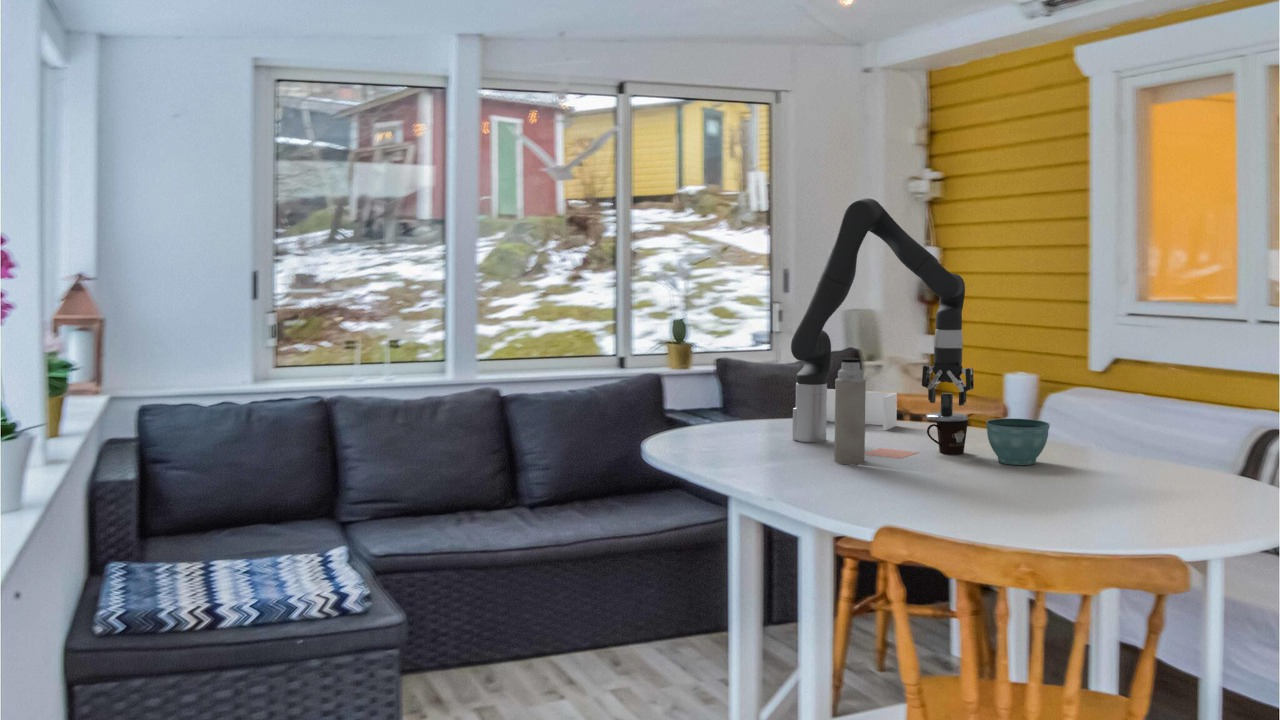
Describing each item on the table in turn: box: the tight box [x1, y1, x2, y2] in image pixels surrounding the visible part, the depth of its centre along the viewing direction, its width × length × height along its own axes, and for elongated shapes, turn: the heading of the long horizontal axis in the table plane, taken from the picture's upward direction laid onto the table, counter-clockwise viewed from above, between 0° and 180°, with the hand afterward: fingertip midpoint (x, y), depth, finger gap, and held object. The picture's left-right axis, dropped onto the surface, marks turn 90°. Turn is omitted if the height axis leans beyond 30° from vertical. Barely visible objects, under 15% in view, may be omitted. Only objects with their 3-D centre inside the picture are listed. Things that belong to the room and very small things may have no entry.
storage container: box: [827, 388, 898, 431], centre depth 375 cm, size 25×11×11 cm, turn 61°
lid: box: [925, 392, 968, 422], centre depth 319 cm, size 11×11×7 cm
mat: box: [865, 447, 920, 460], centre depth 320 cm, size 12×12×1 cm
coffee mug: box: [926, 418, 969, 456], centre depth 320 cm, size 12×9×10 cm
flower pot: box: [985, 418, 1051, 466], centre depth 307 cm, size 16×16×11 cm
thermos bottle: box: [833, 357, 867, 465], centre depth 308 cm, size 8×8×28 cm
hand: (947, 404), depth 319 cm, fingers open, 8 cm apart
